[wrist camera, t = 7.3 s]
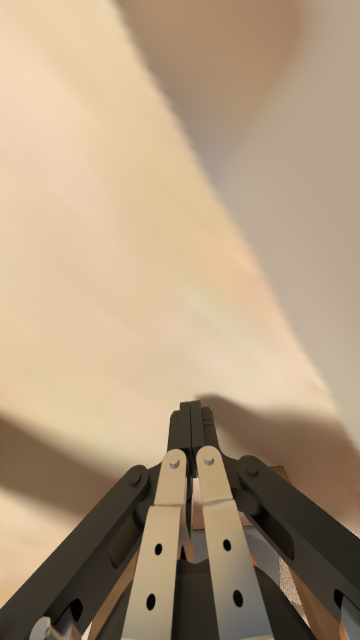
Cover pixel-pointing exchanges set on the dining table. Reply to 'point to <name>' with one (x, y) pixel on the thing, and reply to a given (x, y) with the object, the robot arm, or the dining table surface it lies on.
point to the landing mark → (256, 546)
